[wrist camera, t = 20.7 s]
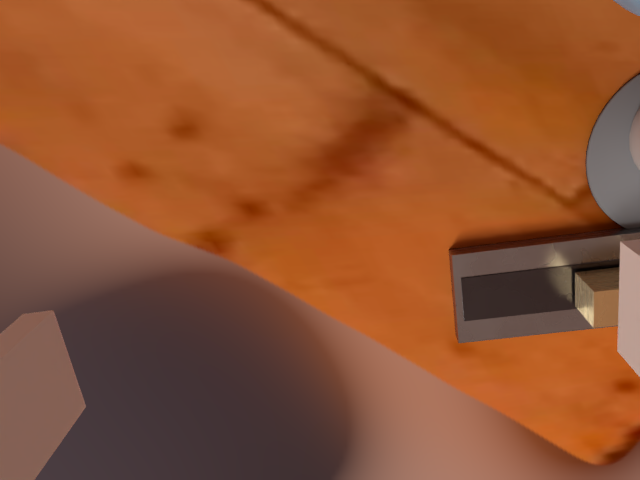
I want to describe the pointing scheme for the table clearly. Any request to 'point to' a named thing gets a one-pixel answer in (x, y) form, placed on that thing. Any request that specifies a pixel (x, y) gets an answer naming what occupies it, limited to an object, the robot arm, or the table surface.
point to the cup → (635, 139)
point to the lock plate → (527, 283)
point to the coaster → (616, 158)
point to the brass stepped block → (598, 296)
